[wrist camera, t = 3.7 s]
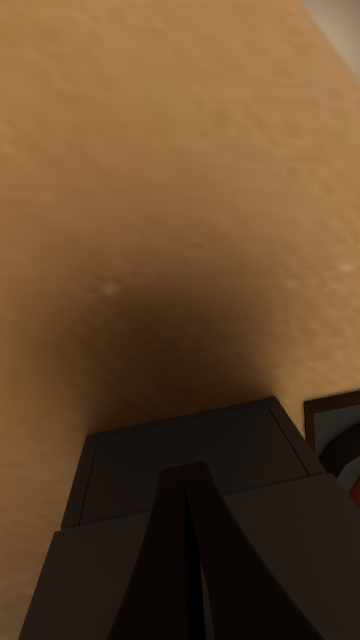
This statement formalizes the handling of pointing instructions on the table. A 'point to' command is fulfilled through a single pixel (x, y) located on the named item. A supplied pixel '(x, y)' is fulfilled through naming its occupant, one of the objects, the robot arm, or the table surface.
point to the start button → (356, 492)
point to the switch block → (336, 435)
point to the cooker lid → (257, 524)
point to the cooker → (187, 458)
